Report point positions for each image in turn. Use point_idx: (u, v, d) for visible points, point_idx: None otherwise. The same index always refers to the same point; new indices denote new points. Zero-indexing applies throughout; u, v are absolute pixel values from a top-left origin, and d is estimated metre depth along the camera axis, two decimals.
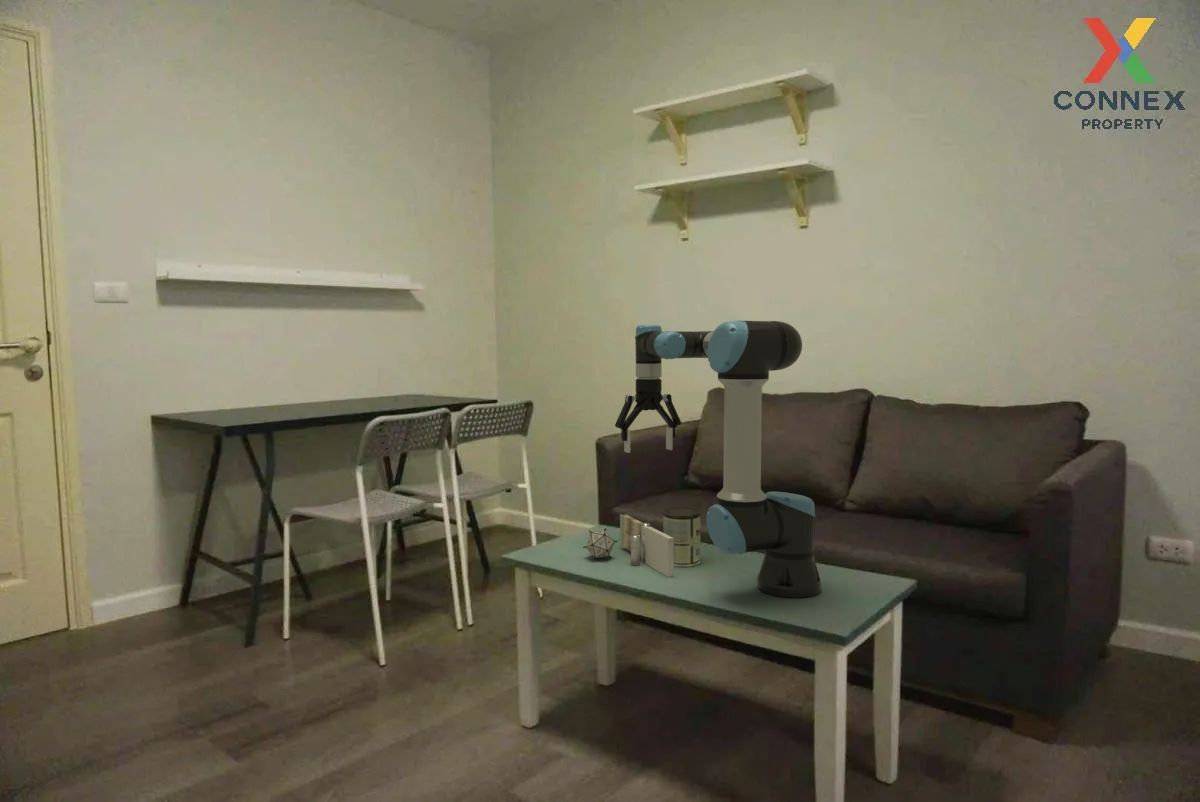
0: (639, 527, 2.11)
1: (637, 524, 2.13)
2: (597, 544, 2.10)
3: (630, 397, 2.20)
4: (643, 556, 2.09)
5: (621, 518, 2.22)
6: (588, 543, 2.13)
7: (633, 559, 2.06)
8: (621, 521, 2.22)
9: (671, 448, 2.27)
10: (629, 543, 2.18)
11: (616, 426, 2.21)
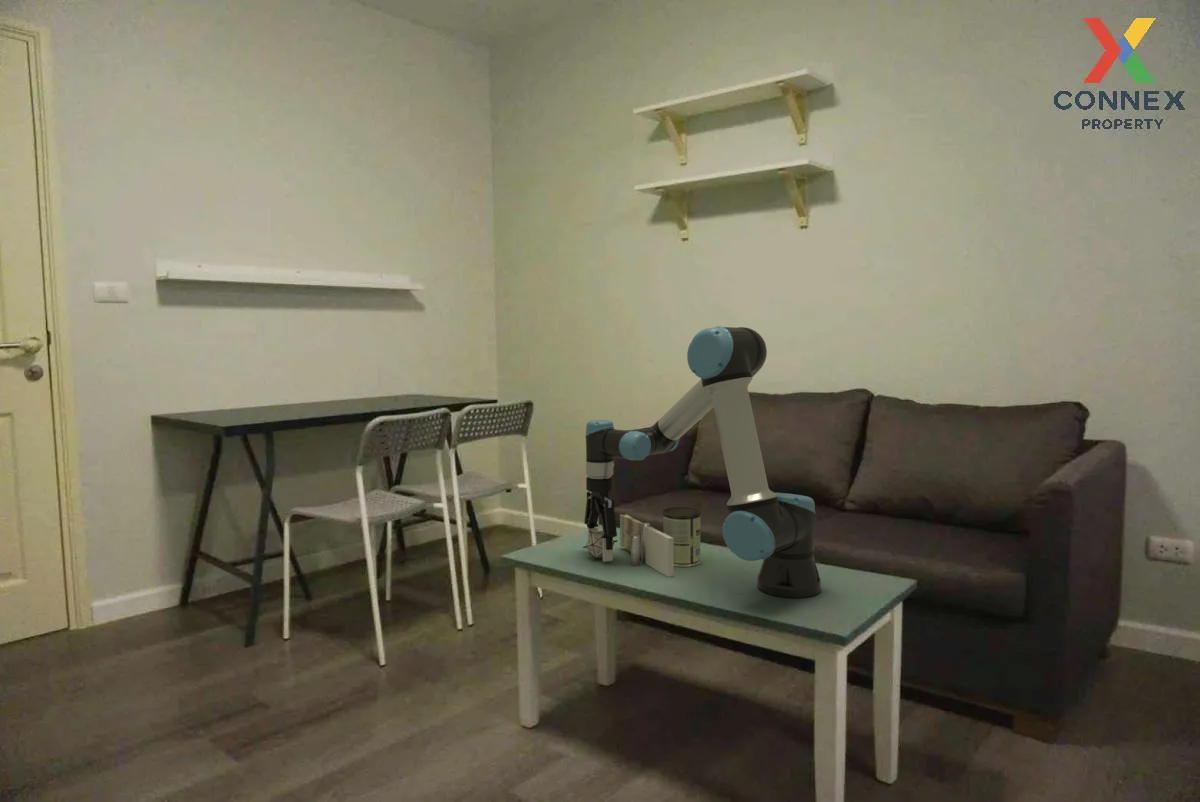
0: (639, 527, 2.11)
1: (637, 524, 2.13)
2: (597, 544, 2.10)
3: None
4: (643, 556, 2.09)
5: (621, 518, 2.22)
6: (588, 543, 2.13)
7: (633, 559, 2.06)
8: (621, 521, 2.22)
9: (603, 559, 2.08)
10: (629, 543, 2.18)
11: None
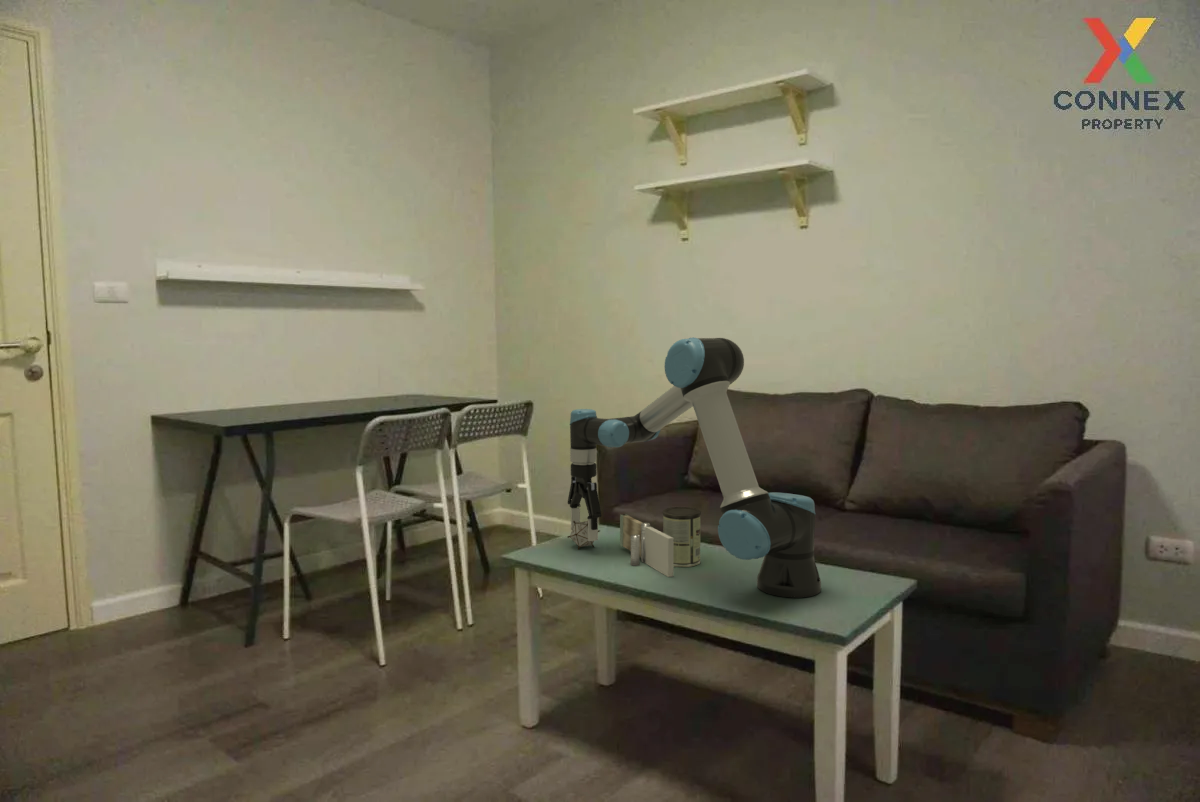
0: (639, 527, 2.11)
1: (637, 524, 2.13)
2: (580, 534, 2.21)
3: (571, 477, 2.29)
4: (643, 556, 2.09)
5: (621, 518, 2.22)
6: (572, 533, 2.24)
7: (633, 559, 2.06)
8: (621, 521, 2.22)
9: (588, 539, 2.18)
10: (629, 543, 2.18)
11: None
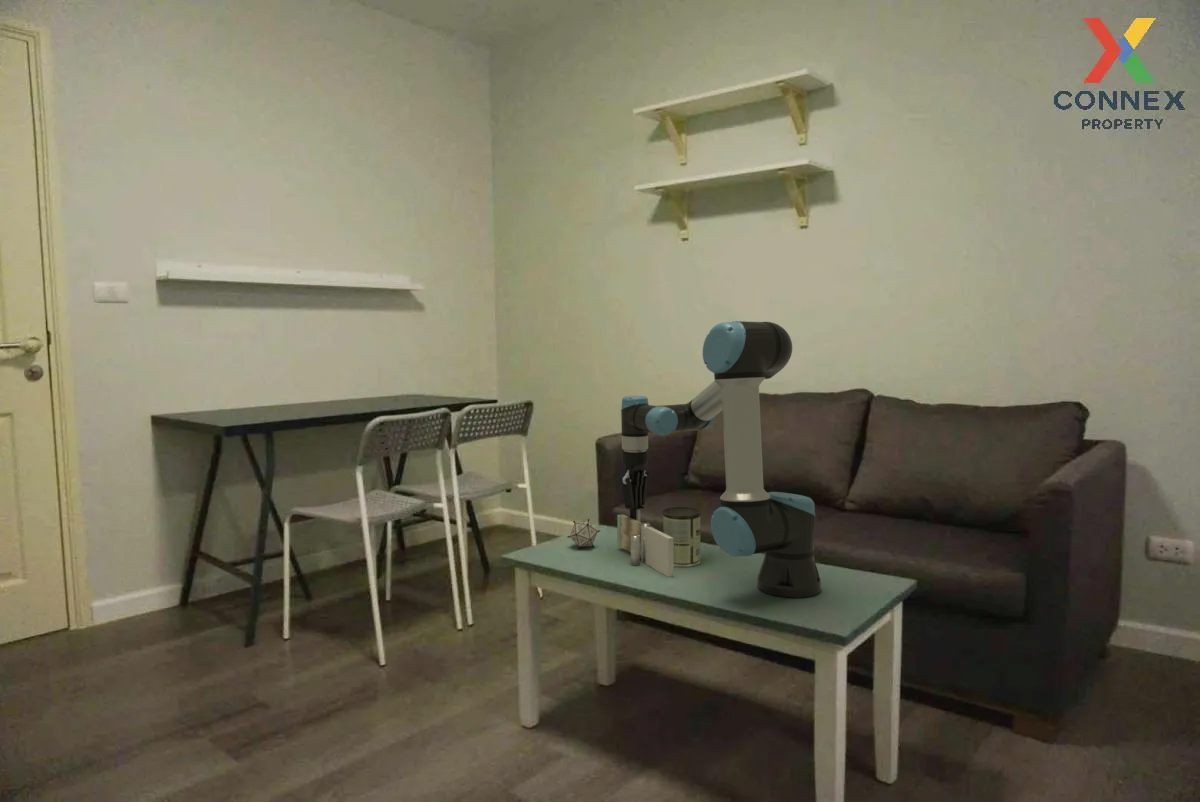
0: (639, 527, 2.11)
1: (636, 524, 2.12)
2: (580, 534, 2.21)
3: (628, 480, 2.14)
4: (643, 556, 2.09)
5: (618, 518, 2.21)
6: (572, 533, 2.24)
7: (633, 559, 2.06)
8: (618, 521, 2.21)
9: None
10: (627, 543, 2.18)
11: (628, 507, 2.18)
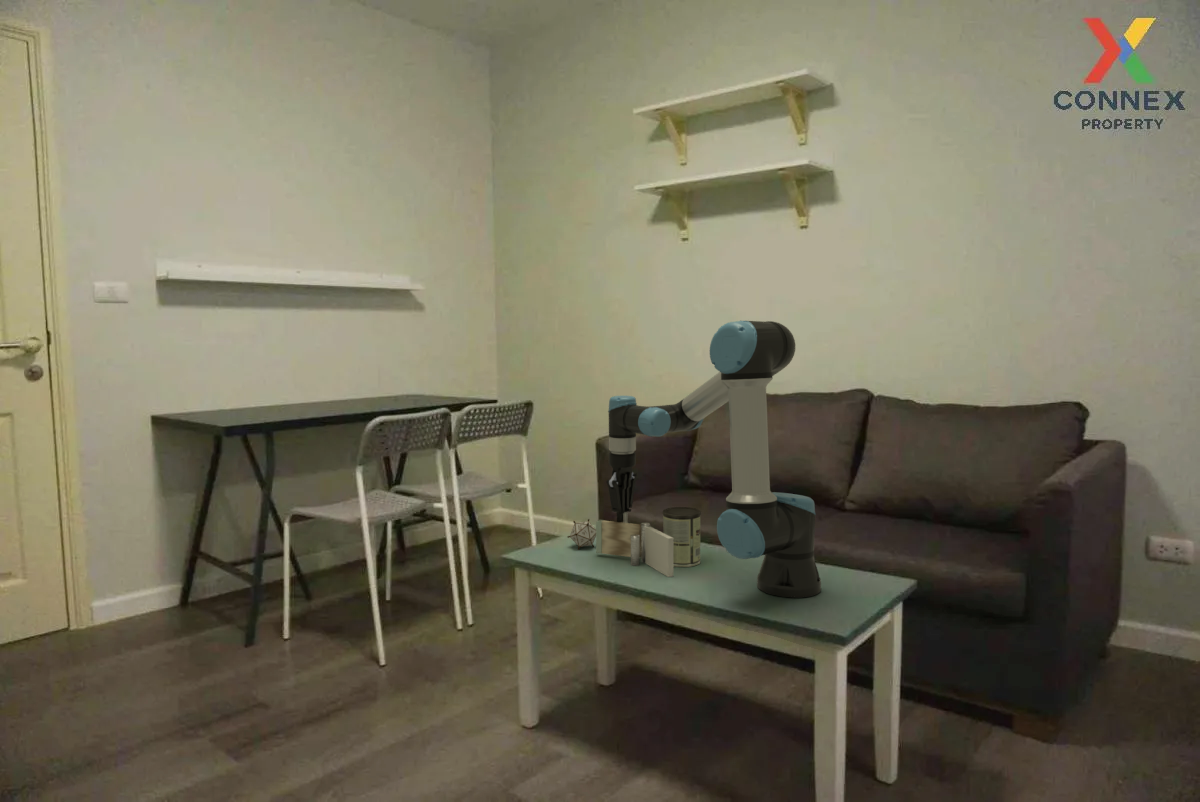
0: (637, 528, 2.10)
1: (632, 526, 2.10)
2: (580, 533, 2.22)
3: (615, 483, 2.09)
4: (643, 556, 2.09)
5: (599, 524, 2.15)
6: (572, 533, 2.24)
7: (633, 559, 2.06)
8: (599, 527, 2.15)
9: None
10: (615, 548, 2.13)
11: (614, 510, 2.12)
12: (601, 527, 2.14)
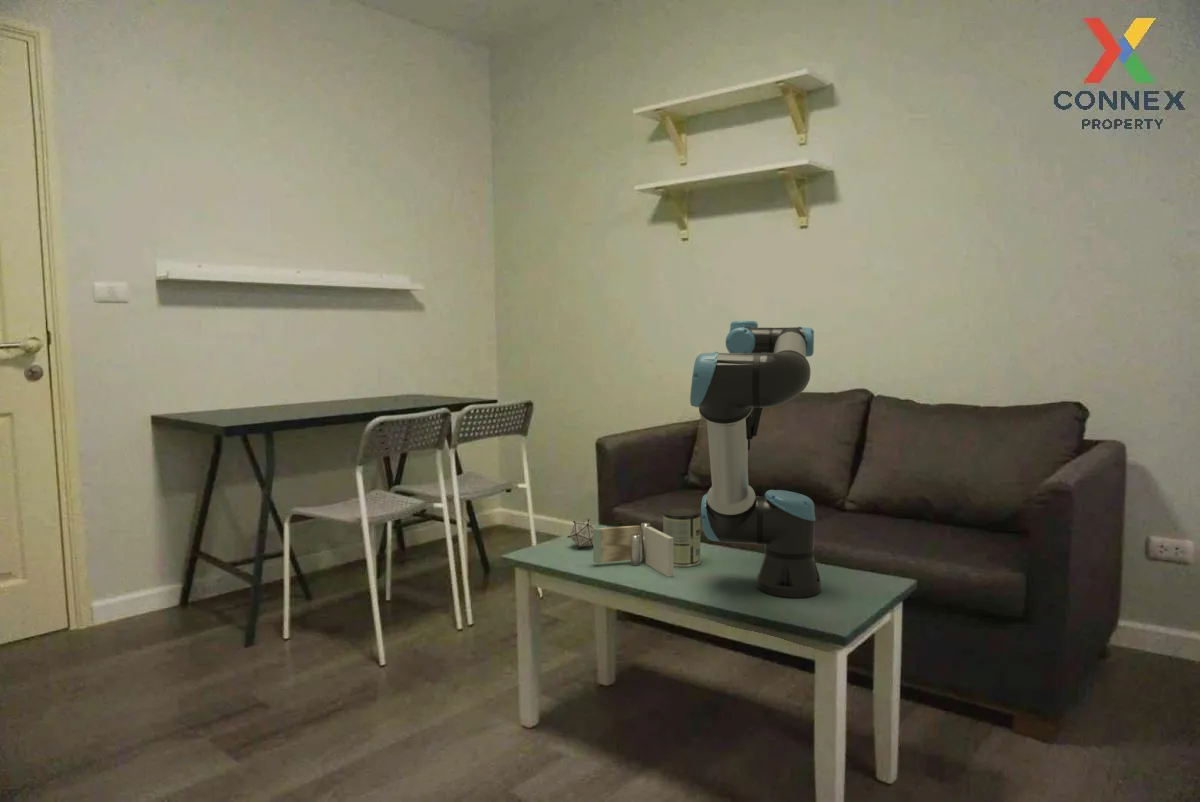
0: (638, 530, 2.08)
1: (634, 528, 2.08)
2: (580, 534, 2.21)
3: None
4: (643, 556, 2.09)
5: (598, 533, 2.05)
6: (572, 533, 2.24)
7: (633, 559, 2.06)
8: (598, 536, 2.05)
9: (746, 461, 2.12)
10: (615, 554, 2.07)
11: None
12: (600, 535, 2.06)
